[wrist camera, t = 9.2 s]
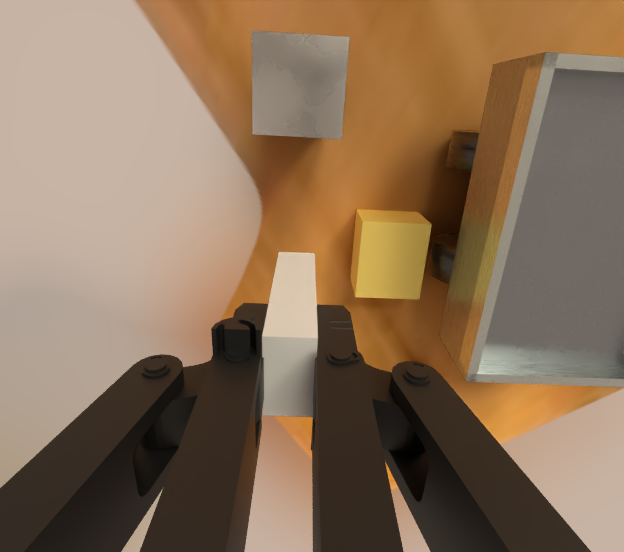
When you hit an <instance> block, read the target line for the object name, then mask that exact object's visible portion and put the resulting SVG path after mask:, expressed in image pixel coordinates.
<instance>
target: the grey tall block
mask: <svg viewBox="0 0 624 552" xmlns="http://www.w3.org/2000/svg"><path fill="white" fill-rule="evenodd" d="M349 39H350V37H344V36H328V35H313V34H297V33H281V32H266V31H252V134H256V135H274V136H292V137H310V138H328V139H342V129H343V117H344V104H345V91H346V78H347V65H348V52H349Z"/></svg>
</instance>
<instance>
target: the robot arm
mask: <svg viewBox="0 0 624 552" xmlns="http://www.w3.org/2000/svg"><path fill="white" fill-rule="evenodd" d="M211 330H212V345H213V356H212V359H211V360H210V361H208V362H206V363H203V364H199V365H194V366H189V367H183V366H182V362H181V361H180V360H179V359H178V358H177V357H174V356H171V355H154V356H150V357H147V358H145V359H142V360H140V361H139V362H137V363H136V364H134V365H133V366H132V367H131V368H130V369H129V370H128V371H127V372H125V373H124V374H123V375H122V376H121V377H120V378H119V379H118V380H117V381H116V382H115V383H114V384H113V385H111V386H110V387H109V388H108V389H107V390H106V391H105V392H104V393H103V394H102V395H101V396H100V397H98V398H97V399H96V400H95V401H94V402H93V403H92V404H91V405H90V406H89V407H88V408H87V409H85V410H84V411H83V412H82V413H81V414H80V415H79V416H78V417H77V418H76V419H75V420H74V421H73V422H71V423H70V424H69V425H68V426H67V427H66V428H65V429H64V430H63V431H62V432H61V433H60V434H59V435H57V436H56V437H55V438H54V439H53V440H52V441H51V442H50V443H49V444H48V445H47V446H46V447H44V448H43V449H42V450H41V451H40V452H39V453H38V454H37V455H36V456H35V457H34V458H33V459H31V460H30V461H29V462H28V463H27V464H26V465H25V466H24V467H23V468H22V469H21V470H20V471H19V472H18V473H16V474H15V475H14V476H13V477H12V478H11V479H10V480H9V481H8V482H7V483H6V484H5V485H3V486H2V487H1V488H0V552H121V551H122V549H123V548H124V546H125V545H126V543H127V542H128V540H129V539H130V537H131V536H132V534H133V533H134V531H135V530H136V528H137V527H138V525H139V524H140V522H141V521H142V519H143V517H144V516H145V515H146V513H147V511H148V510H149V508H150V507H151V505H152V504H153V502H154V501H155V499H156V498H157V496H158V495H159V493H160V492H161V490H162V489H163V490H162V493H161V496H160V498H159V501H158V504H157V507H156V509H155V512H154V515H153V518H152V520H151V523H150V525H149V528H148V531H147V534H146V536H145V539H144V542H143V544H142V547H141V550H140V552H244V550H245V543H246V536H247V528H248V521H249V515H250V508H251V500H252V493H253V486H254V479H255V472H256V465H257V458H258V451H259V444H260V436H261V428H262V424H261V423H262V421H261V415H262V408H263V415H264V416H298V417H313V426H312V443H311V450H312V463H313V464H312V473H313V475H312V477H313V552H403V547H402V542H401V537H400V533H399V528H398V523H397V518H396V513H395V508H394V503H393V499H392V494H391V489H390V484H389V479H388V474H387V469H386V465H385V461H386V463H387V465H388V467H389V469H390V471H391V473H392V475H393V477H394V479H395V481H396V483H397V485H398V487H399V489H400V491H401V493H402V495H403V497H404V499H405V501H406V503H407V505H408V507H409V509H410V511H411V513H412V515H413V517H414V519H415V521H416V523H417V525H418V527H419V529H420V531H421V533H422V535H423V537H424V539H425V541H426V543H427V545H428V547H429V549H430V551H431V552H591V551H590V550H589V549H588V548H587V546H586V545H585V544H584V543H583V542H582V540H581V539H580V538H579V537H578V536H577V535H576V533H575V532H574V531H573V530H572V529H571V527H570V526H569V525H568V524H567V523H566V522H565V520H564V519H563V518H562V517H561V516H560V515H559V513H558V512H557V511H556V510H555V509H554V508H553V506H552V505H551V504H550V503H549V502H548V500H547V499H546V498H545V497H544V496H543V495H542V493H541V492H540V491H539V490H538V489H537V487H536V486H535V485H534V484H533V483H532V482H531V481H530V479H529V478H528V477H527V476H526V475H525V473H523V471H522V470H521V469H520V468H519V467H518V465H517V464H516V463H515V462H514V460H512V458H511V457H510V456H509V455H508V454H507V452H506V451H505V450H504V449H503V448H502V447H501V445H500V444H499V443H498V442H497V440H496V439H495V438H494V437H493V436H492V435H491V433H490V432H489V431H488V430H487V429H486V428H485V426H484V425H483V424H482V423H481V422H480V421H479V419H478V418H477V417H476V416H475V415H474V413H473V412H472V411H471V410H470V409H469V408H468V406H467V405H466V404H465V403H464V402H463V401H462V399H461V398H460V397H459V396H458V395H457V393H456V392H455V391H454V390H453V389H452V388H451V386H450V385H449V384H448V383H447V382H446V381H445V379H444V378H443V377H442V376H441V375H440V374H439V373H438V372H437V371H436V370H435V369H434V368H432V367H430V366H428V365H426V364H423V363H419V362H402V363H398V364H397V365H396V366H394V367H393V369H392V373H391V372H387V371H383V370H379V369H376V368H373V367H371V366H369V365H367V364H366V363H365V362H364V359H363V357H362V355H361V353H359V352H358V351H357V346H356V341H355V336H354V330H353V325H352V320H351V315H350V312H349V311H348V310H347V309H346V308H345V307H344V306H340V305H317V300H316V273H315V253H298V252H279V254H278V259H277V264H276V269H275V274H274V279H273V284H272V289H271V294H270V299H269V304H255V303H243V304H242V305H241V306H240V307H239V308H237V309H236V310H235V313H234V316H233V318H228V319H225V320H221V321H220V322H218V323H216V324H215V325H214V326H213V327H212V329H211ZM384 459H385V460H384ZM163 487H164V488H163Z"/></svg>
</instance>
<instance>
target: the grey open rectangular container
mask: <svg viewBox="0 0 624 552" xmlns="http://www.w3.org/2000/svg"><path fill="white" fill-rule="evenodd" d="M446 166H447V167H449V168H452V169H456V170H460V171H466V172H472V173H471V178H470V183H469V188H468V192H467V197H466V202H465V207H464V212H463V217H462V222H461V227H460V232H459V234H442V235H438V236H436V237H434V238H433V242H432V248H431V253H430V259H429V265H428V272H429V273H430V274H431V275H432V276H433V277H435V278H436V279H438V280H440V281H442V282H445V283H447V284H449V287H448V292H447V297H446V302H445V307H444V312H443V317H442V322H441V327H440V332H439V337H440V338H441V340H442V342H443V344H444V345H445V347H446V349H447V350H448V352H449V354H450V356H451V357H452V359H453V361H454V362H455V364H456V366H457V368H458V369H459V371H460V373H461V374H462V376H463V378H464V380H465V381H466V382H490V383H518V384H547V385H575V386H603V387H624V57H611V56H595V55H580V54H564V53H549V52H545V53H541V54H536V55H532V56H527V57H523V58H519V59H514V60H510V61H505V62H501V63H497V64H493V68H492V73H491V78H490V83H489V88H488V93H487V98H486V103H485V108H484V113H483V118H482V123H481V128H480V131H470V130H452V134H451V140H450V145H449V151H448V157H447V162H446Z"/></svg>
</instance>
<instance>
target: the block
mask: <svg viewBox="0 0 624 552" xmlns="http://www.w3.org/2000/svg"><path fill="white" fill-rule="evenodd" d="M431 226H432V224H431V223H430V222H428V221H427V220H426V219H425V218H424V217H423V216H422V215H421V214H420V213H419V212H408V211H385V210H362V209H356V220H355V231H354V242H353V253H352V264H351V275H350V279H351V283H352V286H353V290H354V294H355V297H364V298H392V299H420V293H421V287H422V280H423V274H424V268H425V262H426V256H427V250H428V244H429V238H430V232H431Z"/></svg>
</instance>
